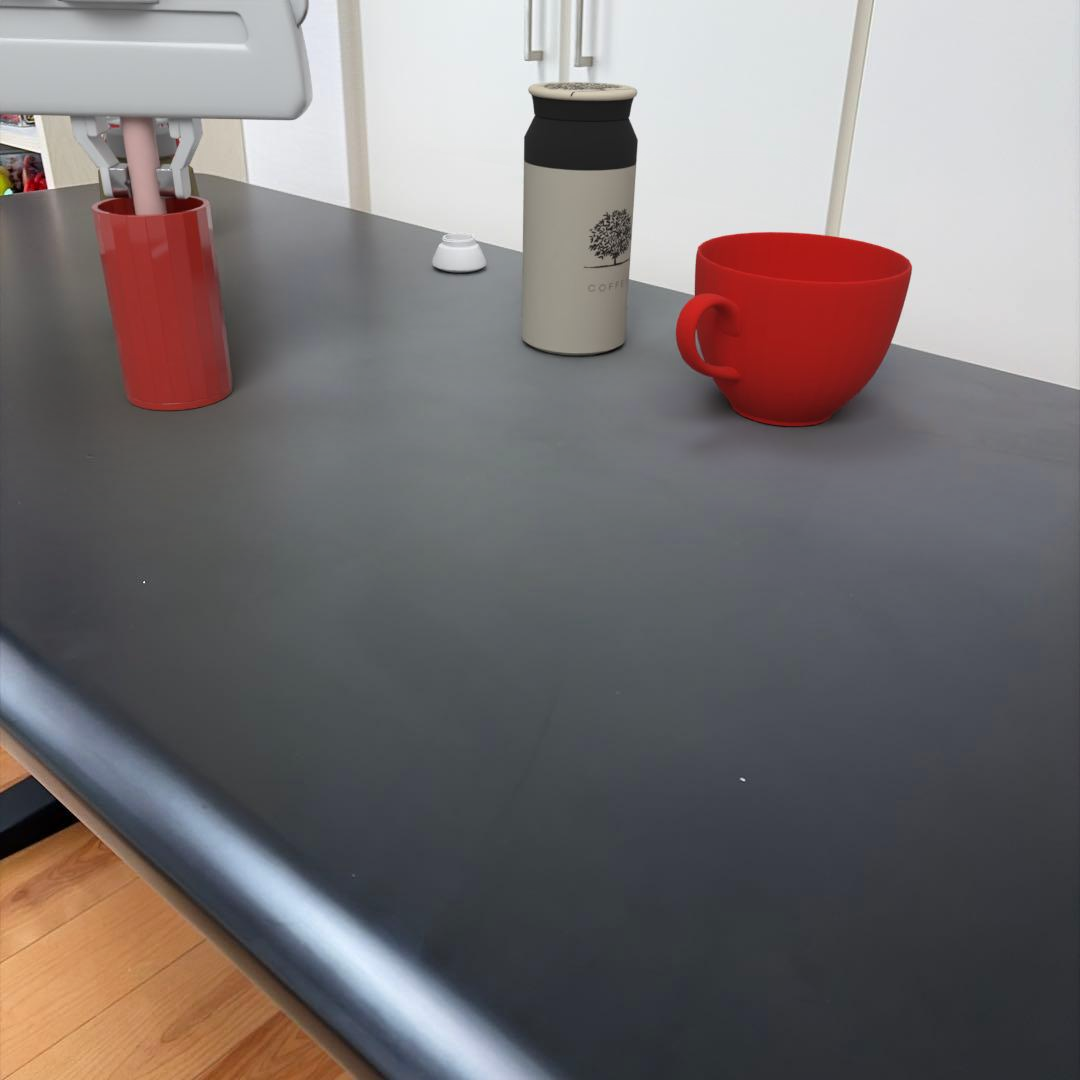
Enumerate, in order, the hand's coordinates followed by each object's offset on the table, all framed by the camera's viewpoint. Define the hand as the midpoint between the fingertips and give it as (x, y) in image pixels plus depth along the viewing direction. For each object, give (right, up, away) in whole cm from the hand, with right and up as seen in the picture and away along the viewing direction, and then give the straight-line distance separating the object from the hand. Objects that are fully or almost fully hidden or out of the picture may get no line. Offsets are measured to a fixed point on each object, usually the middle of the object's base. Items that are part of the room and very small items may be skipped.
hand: (148, 197), depth 62 cm
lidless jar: (+16, +5, +36) cm, 40 cm away
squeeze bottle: (-5, -4, +18) cm, 19 cm away
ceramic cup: (+38, -13, +5) cm, 40 cm away
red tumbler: (0, -11, +6) cm, 12 cm away
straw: (0, -7, +4) cm, 8 cm away
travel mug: (+26, -6, +17) cm, 32 cm away
